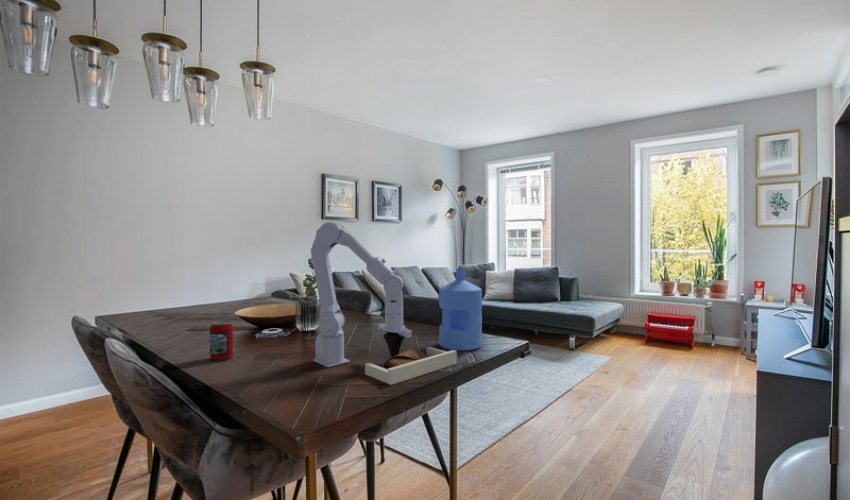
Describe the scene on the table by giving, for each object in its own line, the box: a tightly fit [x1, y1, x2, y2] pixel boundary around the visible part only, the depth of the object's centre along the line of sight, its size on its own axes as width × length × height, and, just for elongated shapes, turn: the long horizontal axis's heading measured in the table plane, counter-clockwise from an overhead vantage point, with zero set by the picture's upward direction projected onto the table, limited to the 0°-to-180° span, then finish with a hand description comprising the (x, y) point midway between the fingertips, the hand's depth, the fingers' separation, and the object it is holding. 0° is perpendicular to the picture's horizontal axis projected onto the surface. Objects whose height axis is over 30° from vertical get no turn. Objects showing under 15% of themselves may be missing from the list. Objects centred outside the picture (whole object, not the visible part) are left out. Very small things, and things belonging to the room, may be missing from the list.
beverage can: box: [209, 320, 234, 362], centre depth 131 cm, size 7×7×12 cm
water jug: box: [438, 268, 483, 352], centre depth 145 cm, size 16×16×28 cm
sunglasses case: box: [383, 346, 430, 370], centre depth 124 cm, size 18×7×7 cm
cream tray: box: [364, 346, 458, 386], centre depth 120 cm, size 12×26×4 cm, turn 133°
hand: (394, 356), depth 126 cm, fingers closed
